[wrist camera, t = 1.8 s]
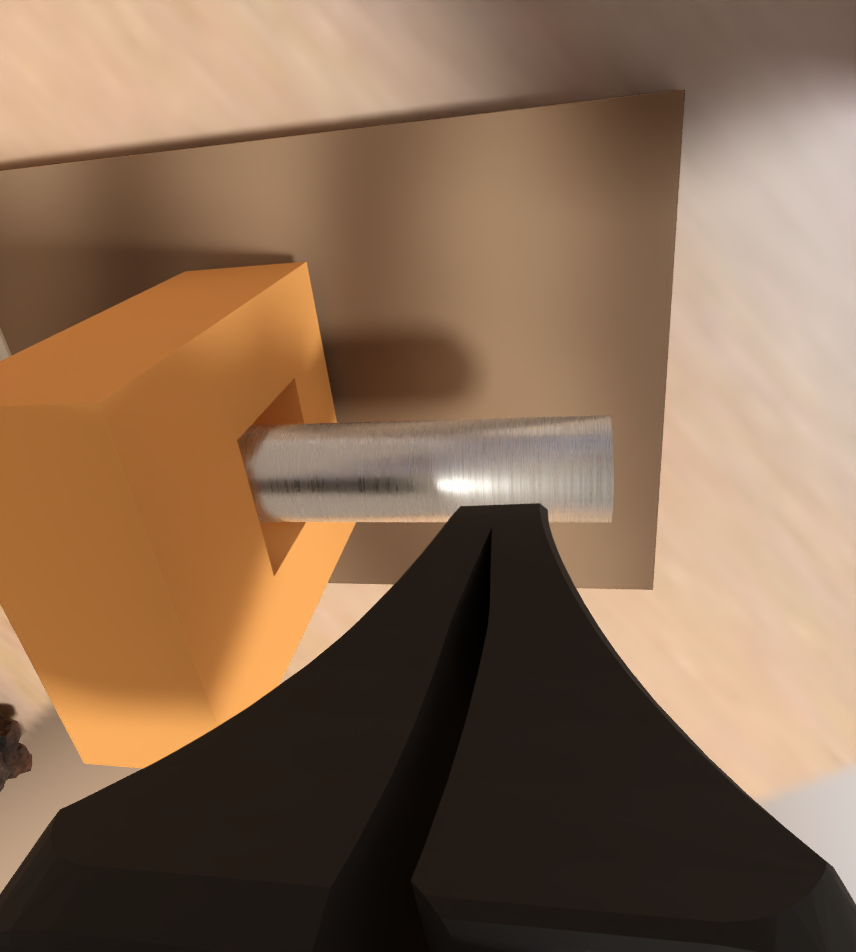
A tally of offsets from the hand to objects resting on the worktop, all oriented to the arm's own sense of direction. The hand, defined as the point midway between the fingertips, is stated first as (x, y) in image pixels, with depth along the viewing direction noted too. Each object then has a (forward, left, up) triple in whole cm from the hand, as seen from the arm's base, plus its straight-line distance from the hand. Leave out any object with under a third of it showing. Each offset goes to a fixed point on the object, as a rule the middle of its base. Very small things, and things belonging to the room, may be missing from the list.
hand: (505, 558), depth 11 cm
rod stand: (+10, 0, -8) cm, 12 cm away
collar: (+6, 0, -6) cm, 9 cm away
